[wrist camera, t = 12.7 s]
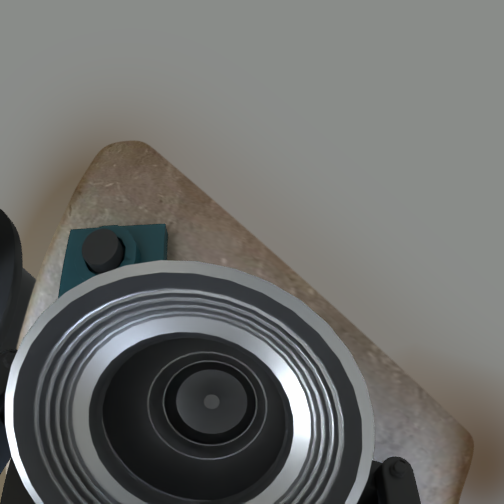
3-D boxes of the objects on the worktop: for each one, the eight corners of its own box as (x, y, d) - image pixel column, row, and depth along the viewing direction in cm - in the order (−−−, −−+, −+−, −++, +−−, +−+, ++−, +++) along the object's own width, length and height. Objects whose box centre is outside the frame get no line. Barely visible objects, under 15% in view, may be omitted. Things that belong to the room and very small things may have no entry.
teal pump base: (66, 308, 26) (49, 296, 23) (77, 239, 31) (64, 220, 27) (166, 308, 28) (159, 295, 25) (167, 234, 32) (163, 213, 29)
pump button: (86, 274, 25) (78, 265, 23) (91, 240, 27) (85, 229, 25) (121, 273, 26) (115, 264, 24) (125, 238, 28) (120, 227, 26)
